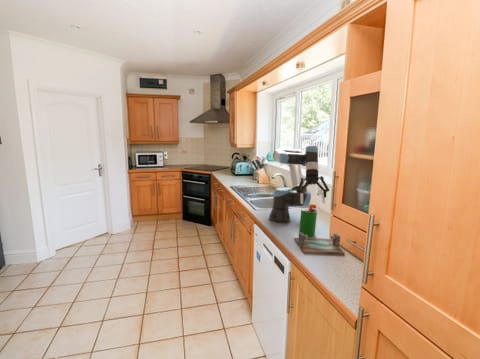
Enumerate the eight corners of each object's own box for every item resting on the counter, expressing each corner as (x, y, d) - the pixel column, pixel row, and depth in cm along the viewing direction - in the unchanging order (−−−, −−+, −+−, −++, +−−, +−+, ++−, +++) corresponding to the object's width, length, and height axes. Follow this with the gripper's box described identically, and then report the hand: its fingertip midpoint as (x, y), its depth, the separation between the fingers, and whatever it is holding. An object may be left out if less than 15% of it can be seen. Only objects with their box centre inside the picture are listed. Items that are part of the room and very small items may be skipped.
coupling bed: (294, 240, 153) (295, 227, 152) (330, 241, 155) (332, 229, 153) (303, 253, 135) (305, 240, 134) (344, 255, 137) (346, 241, 136)
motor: (304, 230, 170) (307, 200, 167) (317, 234, 165) (320, 203, 161) (297, 234, 162) (300, 203, 159) (310, 238, 157) (314, 206, 154)
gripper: (291, 170, 167) (291, 203, 163) (330, 166, 153) (331, 202, 149) (295, 172, 173) (295, 204, 169) (333, 169, 160) (335, 203, 155)
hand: (312, 203), depth 159 cm, fingers open, 13 cm apart
